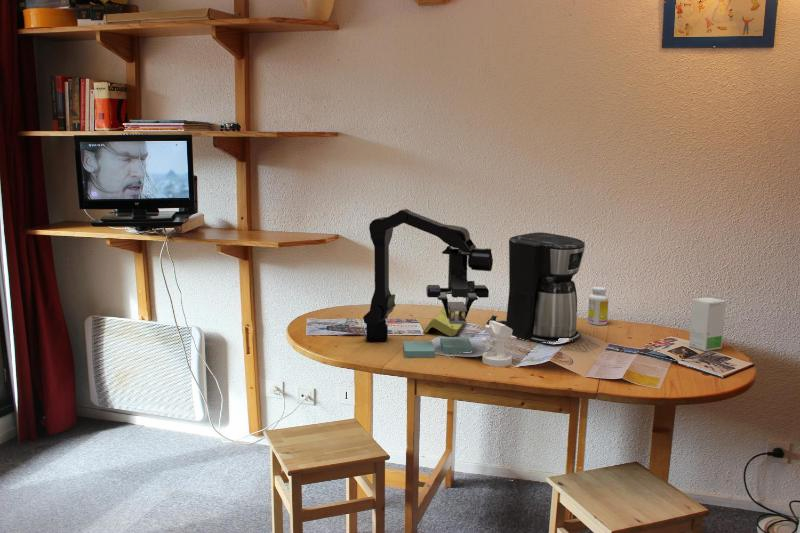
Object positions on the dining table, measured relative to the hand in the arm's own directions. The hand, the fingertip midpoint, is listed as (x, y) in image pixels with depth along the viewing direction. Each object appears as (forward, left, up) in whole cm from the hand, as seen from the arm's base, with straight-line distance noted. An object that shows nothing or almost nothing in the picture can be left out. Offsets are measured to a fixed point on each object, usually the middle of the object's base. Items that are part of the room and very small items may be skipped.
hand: (456, 318), depth 209 cm
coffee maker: (+30, +18, -10) cm, 36 cm away
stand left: (-12, -4, -10) cm, 16 cm away
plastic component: (0, +22, -10) cm, 25 cm away
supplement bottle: (+54, +29, -10) cm, 62 cm away
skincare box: (+79, 0, -10) cm, 80 cm away
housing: (0, 0, -1) cm, 1 cm away
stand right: (0, 0, -10) cm, 10 cm away
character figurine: (+11, -13, -10) cm, 20 cm away
